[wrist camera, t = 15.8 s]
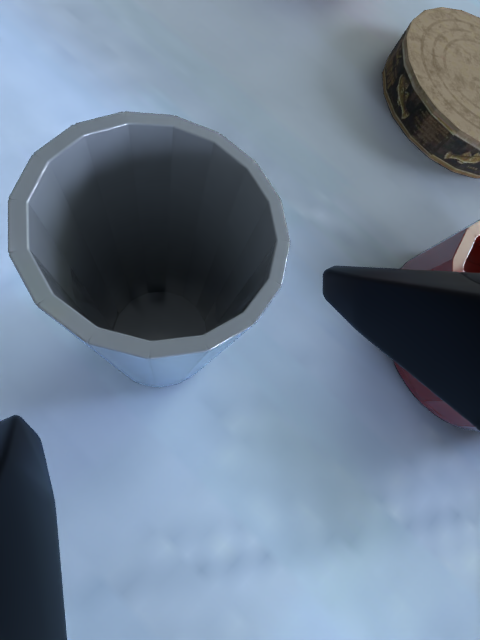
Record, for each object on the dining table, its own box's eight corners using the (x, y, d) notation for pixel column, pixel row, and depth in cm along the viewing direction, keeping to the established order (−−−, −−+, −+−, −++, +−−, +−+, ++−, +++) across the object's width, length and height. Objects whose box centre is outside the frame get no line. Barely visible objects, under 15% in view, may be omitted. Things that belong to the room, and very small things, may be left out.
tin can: (401, 168, 26) (430, 140, 23) (368, 27, 30) (389, -12, 27) (539, 186, 30) (577, 164, 27) (494, 60, 34) (524, 29, 31)
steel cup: (196, 397, 17) (263, 388, 6) (92, 372, 16) (-54, 308, 5) (220, 304, 19) (305, 166, 8) (127, 277, 18) (74, 74, 7)
